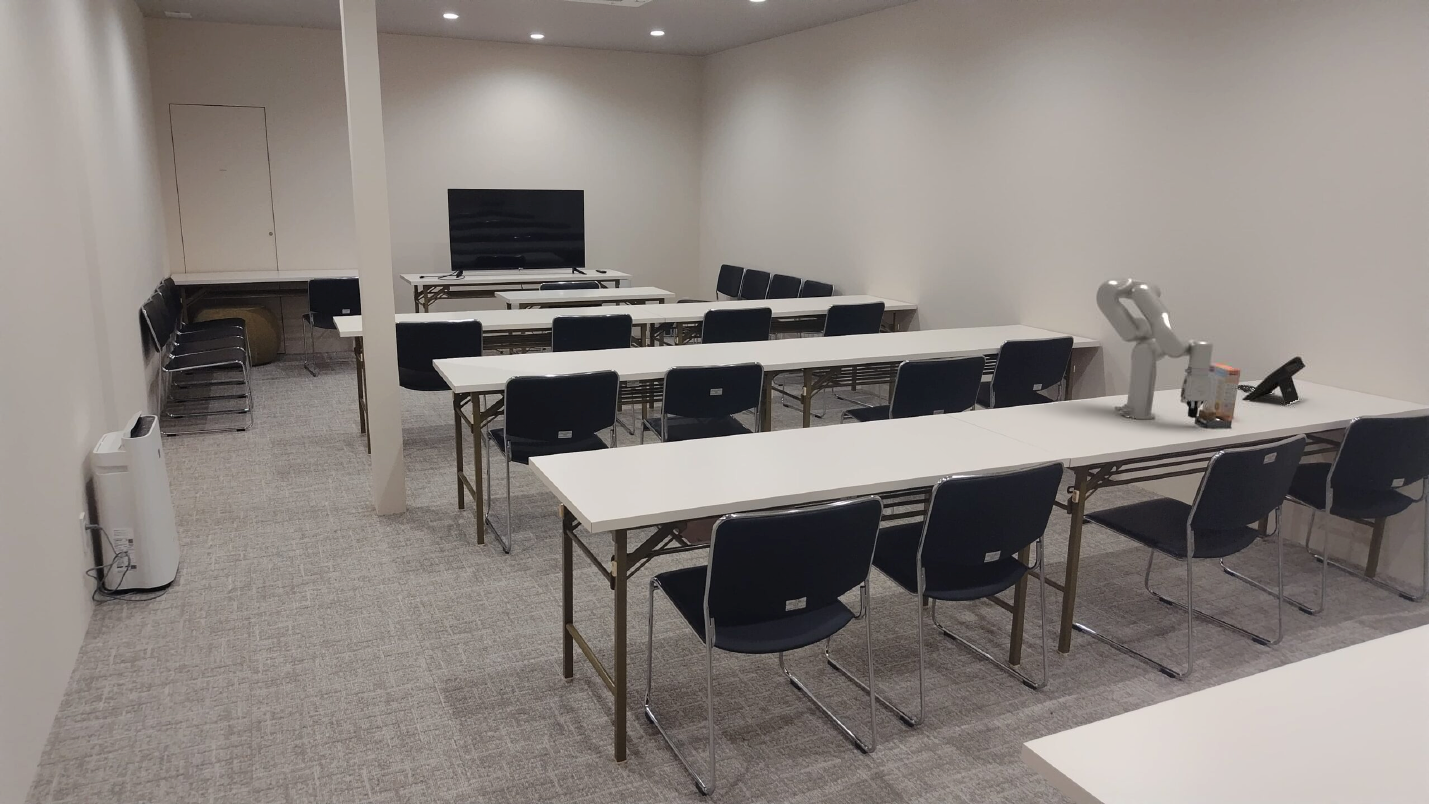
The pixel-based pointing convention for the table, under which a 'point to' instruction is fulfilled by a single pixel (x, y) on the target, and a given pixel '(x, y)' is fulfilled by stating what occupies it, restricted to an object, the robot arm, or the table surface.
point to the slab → (1207, 414)
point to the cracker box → (1222, 388)
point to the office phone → (1278, 382)
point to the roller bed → (1216, 421)
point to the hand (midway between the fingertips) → (1192, 417)
